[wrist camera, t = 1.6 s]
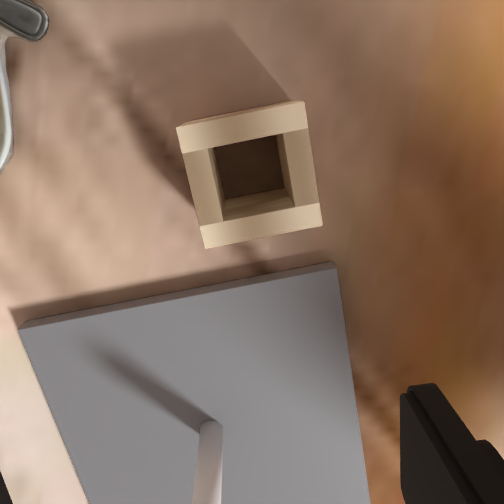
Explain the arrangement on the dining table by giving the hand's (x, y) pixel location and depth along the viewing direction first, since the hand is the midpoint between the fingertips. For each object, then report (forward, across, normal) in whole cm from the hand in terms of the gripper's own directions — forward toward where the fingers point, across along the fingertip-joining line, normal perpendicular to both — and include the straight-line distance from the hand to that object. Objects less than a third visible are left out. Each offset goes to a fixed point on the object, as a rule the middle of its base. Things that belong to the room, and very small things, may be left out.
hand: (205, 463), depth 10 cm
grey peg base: (+18, +2, +14) cm, 23 cm away
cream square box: (+18, -2, -4) cm, 19 cm away
